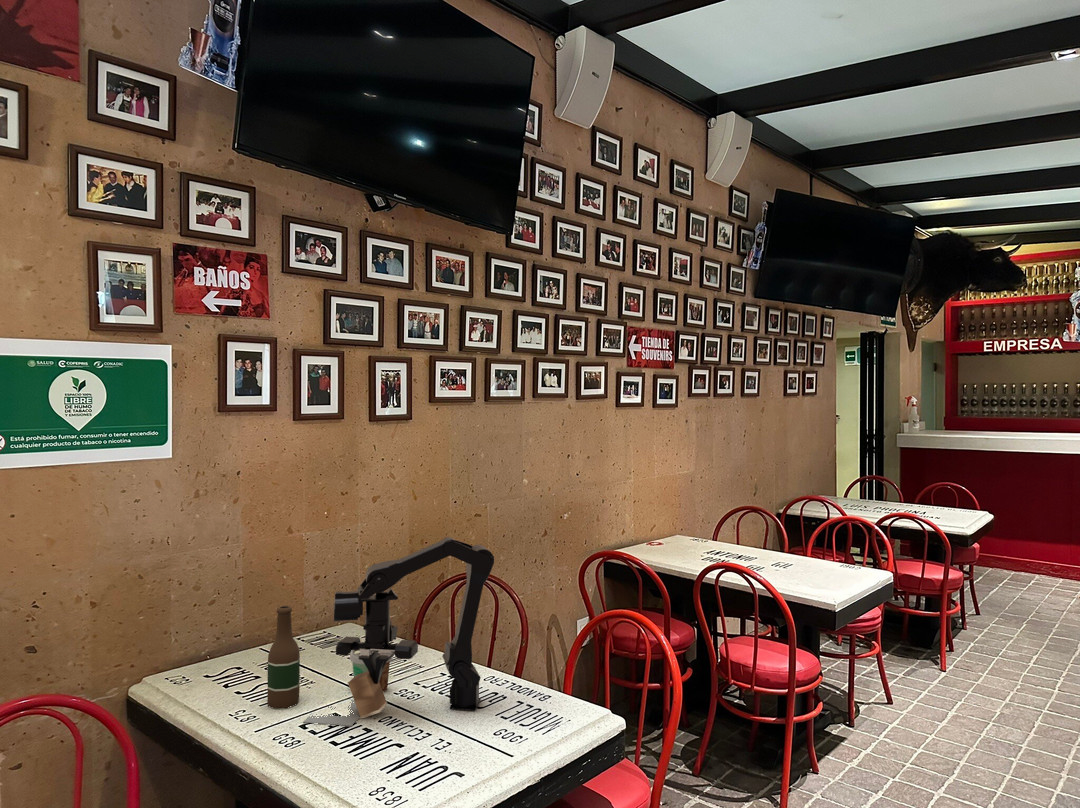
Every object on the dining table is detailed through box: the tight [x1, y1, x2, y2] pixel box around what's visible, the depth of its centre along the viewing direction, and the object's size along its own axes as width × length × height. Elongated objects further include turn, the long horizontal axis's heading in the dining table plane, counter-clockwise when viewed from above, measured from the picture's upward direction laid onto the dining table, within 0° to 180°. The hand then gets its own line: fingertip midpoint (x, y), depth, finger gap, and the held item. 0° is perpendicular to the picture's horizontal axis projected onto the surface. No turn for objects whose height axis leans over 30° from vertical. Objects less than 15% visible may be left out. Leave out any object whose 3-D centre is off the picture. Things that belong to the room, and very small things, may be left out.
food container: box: [349, 650, 393, 692], centre depth 191 cm, size 12×6×10 cm, turn 62°
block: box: [347, 671, 388, 719], centre depth 176 cm, size 5×5×9 cm
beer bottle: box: [266, 605, 301, 709], centre depth 182 cm, size 8×8×24 cm
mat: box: [302, 699, 361, 728], centre depth 177 cm, size 12×14×1 cm
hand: (376, 683), depth 176 cm, fingers closed
